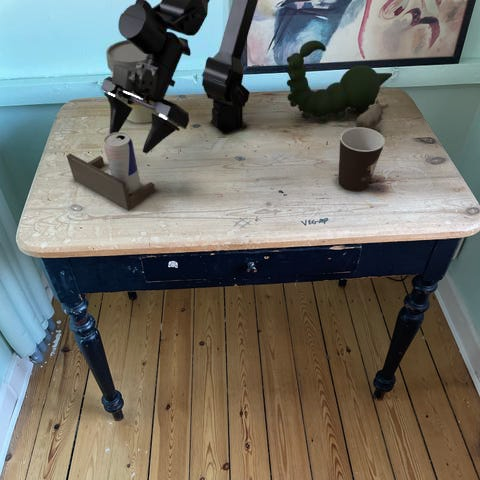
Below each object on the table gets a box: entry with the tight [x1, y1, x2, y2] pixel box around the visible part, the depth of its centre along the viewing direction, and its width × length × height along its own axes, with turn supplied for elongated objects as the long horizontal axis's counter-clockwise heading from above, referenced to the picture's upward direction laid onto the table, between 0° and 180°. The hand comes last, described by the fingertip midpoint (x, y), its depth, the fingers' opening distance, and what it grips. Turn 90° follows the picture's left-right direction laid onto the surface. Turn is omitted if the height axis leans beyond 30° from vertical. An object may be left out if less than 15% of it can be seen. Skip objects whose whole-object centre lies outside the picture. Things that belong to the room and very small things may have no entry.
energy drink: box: [103, 131, 142, 196], centre depth 97 cm, size 5×5×12 cm
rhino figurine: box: [355, 99, 389, 131], centre depth 114 cm, size 4×14×6 cm, turn 145°
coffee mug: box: [337, 127, 386, 193], centre depth 100 cm, size 12×9×10 cm
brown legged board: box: [66, 153, 156, 211], centre depth 101 cm, size 8×17×6 cm, turn 52°
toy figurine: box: [286, 40, 393, 123], centre depth 114 cm, size 9×19×25 cm
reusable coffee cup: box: [105, 39, 159, 124], centre depth 116 cm, size 12×12×15 cm
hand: (127, 144), depth 96 cm, fingers open, 9 cm apart
